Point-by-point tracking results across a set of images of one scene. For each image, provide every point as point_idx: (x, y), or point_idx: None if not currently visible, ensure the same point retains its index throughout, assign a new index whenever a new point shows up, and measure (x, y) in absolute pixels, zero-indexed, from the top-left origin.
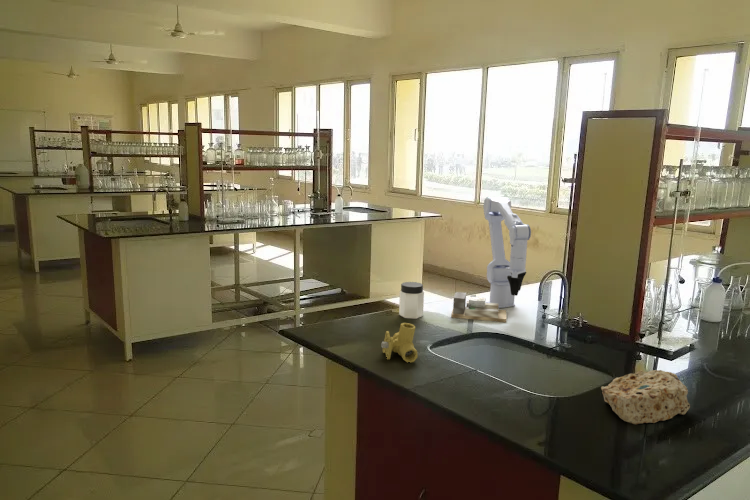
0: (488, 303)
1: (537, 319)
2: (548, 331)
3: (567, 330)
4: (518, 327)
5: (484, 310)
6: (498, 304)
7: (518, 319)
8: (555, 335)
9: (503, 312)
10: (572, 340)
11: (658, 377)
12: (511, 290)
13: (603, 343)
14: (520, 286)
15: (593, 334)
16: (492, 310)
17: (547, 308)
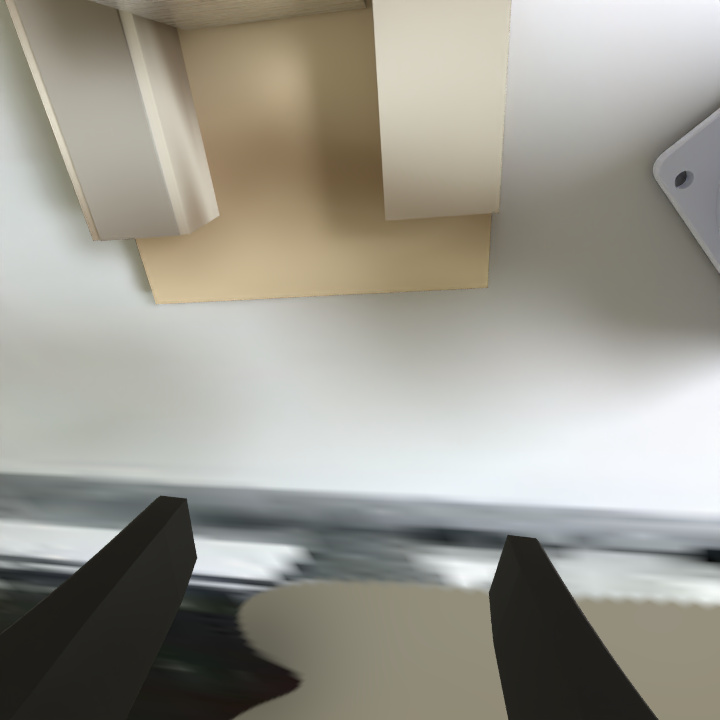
0: (460, 44)
1: (372, 502)
2: None
3: (218, 612)
4: (98, 385)
5: (26, 32)
6: (445, 215)
7: (312, 385)
8: (88, 560)
9: (377, 265)
10: None
11: None
12: (99, 561)
13: None
14: (501, 678)
15: (219, 681)
16: (93, 159)
17: (706, 572)
